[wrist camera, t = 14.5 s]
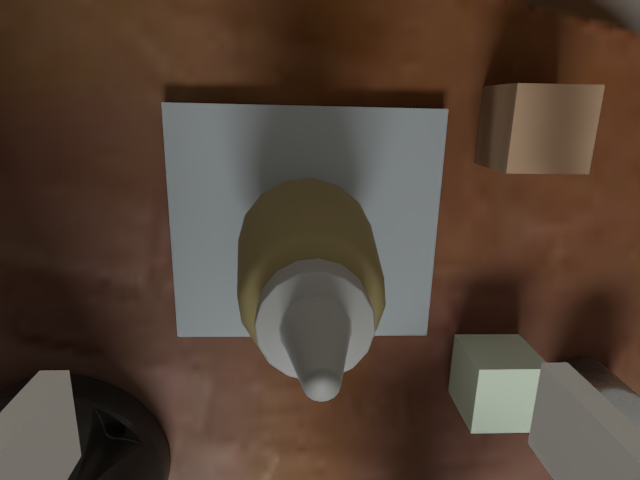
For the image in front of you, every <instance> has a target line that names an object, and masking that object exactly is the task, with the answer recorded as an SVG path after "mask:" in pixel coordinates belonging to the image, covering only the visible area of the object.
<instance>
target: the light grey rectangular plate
mask: <svg viewBox="0 0 640 480" xmlns="http://www.w3.org/2000/svg"><path fill="white" fill-rule="evenodd" d="M161 107H162V121H163V136H164V150H165V164H166V178H167V193H168V207H169V221H170V236H171V250H172V264H173V279H174V293H175V307H176V321H177V336H178V337H236V336H250V334H249V333H248V331H247V330H246V328H245V327H244V325H243V324H242V322H241V317H240V311H239V305H238V299H237V271H238V239H239V235H240V231H241V228H242V224H243V220H244V216H245V214H246V213H247V212H248V210H249V209H250V208H251V207H252V205H253V204H254V203H255V202H256V200H257V199H258V198H259V197H260V195H261V194H263V193H264V192H266V191H268V190H270V189H272V188H274V187H275V186H277V185H279V184H281V183H283V182H285V181H291V180H301V179H310V178H314V179H317V180H320V181H324V182H327V183H331V184H334V185H337V186H339V187H341V188H342V189H343V190H344V191H346V192H347V193H348V194H349V195H350V196H352V197H353V198H354V199H355V200H357V201H358V202H359V203H360V205H361V207H362V209H363V211H364V213H365V215H366V217H367V219H368V221H369V223H370V224H371V228H372V232H373V236H374V240H375V244H376V248H377V252H378V256H379V260H380V264H381V268H382V272H383V276H384V283H385V300H386V306H385V309H384V311H383V314H382V317H381V320H380V322H379V325H378V328H377V330H376V331H375V334H374V336H400V335H427V327H428V317H429V307H430V296H431V286H432V275H433V265H434V255H435V244H436V234H437V223H438V213H439V203H440V192H441V182H442V172H443V161H444V151H445V140H446V130H447V120H448V109H427V108H384V107H342V106H299V105H256V104H213V103H171V102H161Z"/></svg>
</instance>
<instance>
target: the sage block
mask: <svg viewBox="0 0 640 480" xmlns="http://www.w3.org/2000/svg"><path fill="white" fill-rule="evenodd" d="M542 363H546V362H545V361H544V360H543V359H542V358H541V357H540V356H539V355H538V354H537V353H536V351H535V350H534V349H533V348H532V347H531V346H530V345H529V344H528V343H527V342H526V341H525V340H524V339H523V338H522V337H521V336H520V335H519V334H455V336H454V345H453V353H452V362H451V371H450V379H449V388H448V392H449V394H450V396H451V398H452V400H453V401H454V403H455V405H456V407H457V409H458V411H459V413H460V414H461V416H462V418H463V420H464V422H465V424H466V426H467V427H468V429H469V431H470V433H471V434H474V433H530V427H531V422H532V416H533V410H534V404H535V399H536V393H537V387H538V382H539V376H540V370H541V364H542Z"/></svg>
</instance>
